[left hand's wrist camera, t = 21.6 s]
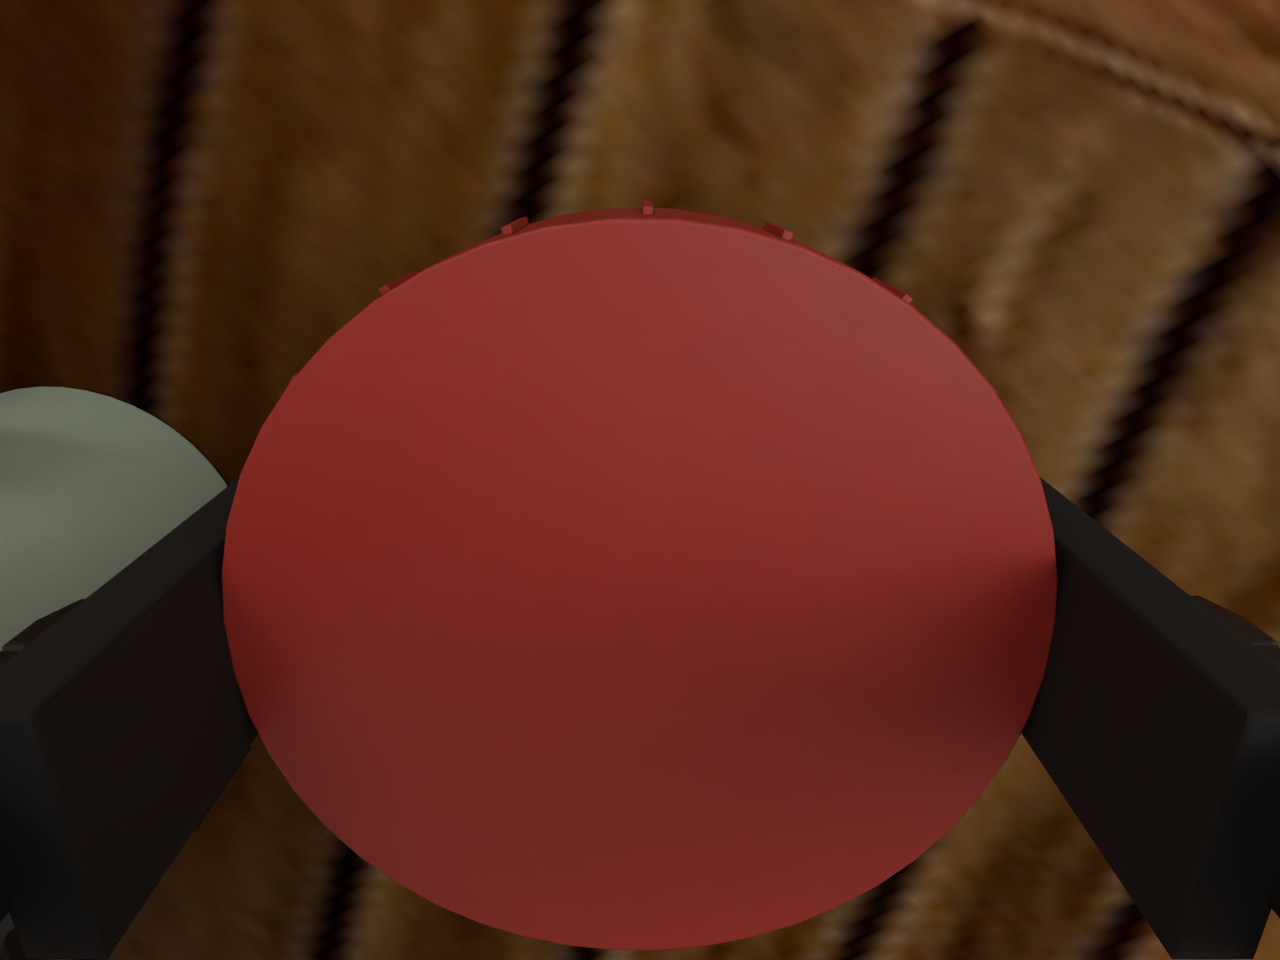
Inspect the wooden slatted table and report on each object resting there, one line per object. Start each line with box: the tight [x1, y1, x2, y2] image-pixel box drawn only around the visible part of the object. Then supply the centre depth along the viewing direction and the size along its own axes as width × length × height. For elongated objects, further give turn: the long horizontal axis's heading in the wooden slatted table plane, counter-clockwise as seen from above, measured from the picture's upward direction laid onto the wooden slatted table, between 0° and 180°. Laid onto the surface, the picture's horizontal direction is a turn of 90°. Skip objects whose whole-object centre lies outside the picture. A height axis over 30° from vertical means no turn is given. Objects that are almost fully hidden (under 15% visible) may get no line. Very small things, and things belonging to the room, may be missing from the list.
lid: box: [221, 200, 1058, 950], centre depth 11 cm, size 10×10×2 cm
